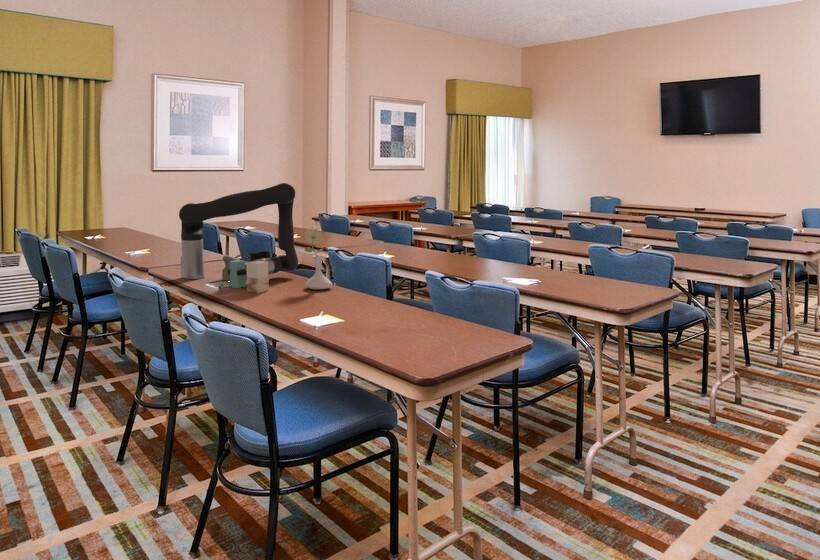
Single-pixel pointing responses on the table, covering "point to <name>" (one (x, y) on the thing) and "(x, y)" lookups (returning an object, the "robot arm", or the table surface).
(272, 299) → the table surface
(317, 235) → the flower in vase
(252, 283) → the maple cube
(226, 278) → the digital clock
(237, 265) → the teal post
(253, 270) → the cream cube
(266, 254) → the pen holder
